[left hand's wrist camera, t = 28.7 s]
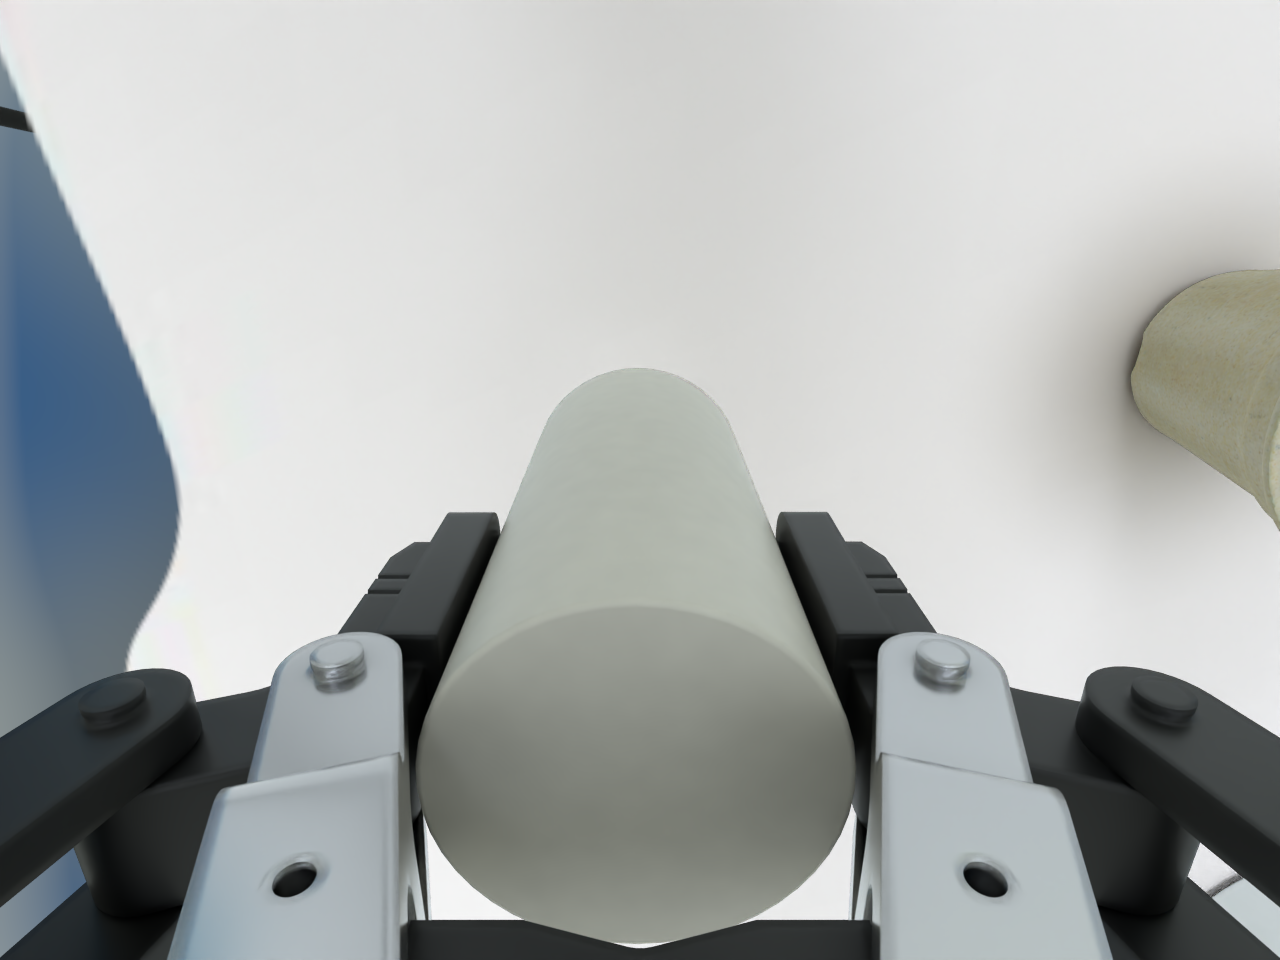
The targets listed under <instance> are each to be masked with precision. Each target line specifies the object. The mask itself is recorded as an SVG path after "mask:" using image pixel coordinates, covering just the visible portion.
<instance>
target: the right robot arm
mask: <svg viewBox="0 0 1280 960" xmlns="http://www.w3.org/2000/svg"><path fill="white" fill-rule="evenodd" d="M1212 899H1214V900H1215V901H1216V902H1217V903H1218V904H1219V905H1220V906H1222V907H1223V908H1224V909H1225V910H1226V911H1227V912H1228V913H1230V914H1231V915H1232V916H1233V917H1234V918H1235V919H1236V920H1237V921H1239V922H1240V923H1241V924H1242V925H1243V926H1244V927H1245V928H1247V929H1248V930H1249V931H1250V932H1251V933H1252V934H1253V935H1255V936H1256V937H1257V938H1258V939H1259V940H1260V941H1261V942H1263V943H1264V944H1265V945H1266V946H1267V947H1268V948H1269V949H1271V950H1272V951H1273V952H1274V953H1275V954H1276V955H1277V956H1278V957H1280V907H1279V906H1277V905H1276V904H1275V903H1274V902H1272V901H1271V900H1270V899H1269V898H1268V897H1266V896H1265V895H1264V894H1263V893H1262V892H1260V891H1259V890H1258V889H1257V888H1255V887H1254V886H1253V885H1252V884H1251V883H1249V882H1248V881H1247V880H1246V879H1244V878H1243V879H1241V880H1239V881H1237V882H1236V883H1234V884H1232V885H1230V886H1229V887H1227V888H1225V889H1224V890H1222V891H1221V892H1219V893H1218V894H1216V895H1215V896H1213V897H1212Z"/></svg>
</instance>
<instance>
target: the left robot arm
mask: <svg viewBox="0 0 1280 960" xmlns="http://www.w3.org/2000/svg"><path fill="white" fill-rule="evenodd" d="M0 126H4V127H9V128H13V129H18V130H23V131H27V132H33V133H35V132H34V129H33V126H32V124H31V122H30V120H29V118H28V116H27V113H25V112H21V111H17V110H13V109H9V108H5V107H1V106H0ZM499 536H500V526H499V520H498V516H497V514H496V513H494V512H466V513H448V514H447V515H446V517H445V519H444V520H443V522H442V524H441V525H440V527H439V529H438V530H437V532H436V533H435V535H434V537H433V538H432V540H431V542H414V543H412V544H411V545H409V546H408V547H406V548H405V549H403V550H401V551H400V552H398V553H397V554H395V555H394V556H392V557H391V558H390V559H389V560H388V562H387V563H386V565H385V566H384V568H383V569H382V571H381V572H380V573H379V575H378V579H375V581H374V582H373V584H372V585H371V586H370V588H369V589H368V594H365V595H364V597H363V598H362V600H361V601H360V602H359V604H358V605H357V607H356V608H355V610H354V611H353V613H352V614H351V615H350V617H349V618H348V620H347V621H346V623H345V624H344V626H343V627H342V628H341V630H340V631H339V633H338V634H337V635H332V636H328V637H325V638H322V639H319V640H316V641H314V642H311V643H309V644H307V645H305V646H303V647H301V648H299V649H298V650H296V651H294V652H293V653H292V654H290V655H289V656H288V657H286V658H285V659H284V660H283V661H282V662H281V663H280V665H279V666H278V667H277V669H276V670H275V673H274V675H273V679H272V683H271V686H269V687H266V688H263V689H259V690H255V691H251V692H246V693H241V694H236V695H231V696H226V697H221V698H216V699H211V700H205V701H200V702H196V699H195V696H194V692H193V688H192V685H191V682H190V680H189V679H188V677H187V676H186V675H184V674H182V673H180V672H178V671H174V670H170V669H141V670H135V671H129V672H125V673H121V674H117V675H114V676H111V677H107V678H104V679H102V680H99V681H97V682H94V683H91V684H89V685H87V686H85V687H83V688H81V689H79V690H77V691H75V692H73V693H72V694H70V695H68V696H66V697H65V698H63V699H62V700H60V701H58V702H57V703H55V704H54V705H52V706H50V707H49V708H47V709H46V710H44V711H42V712H41V713H39V714H38V715H36V716H34V717H33V718H31V719H29V720H28V721H26V722H25V723H23V724H21V725H20V726H18V727H17V728H15V729H13V730H12V731H10V732H9V733H7V734H6V735H4V736H2V737H1V738H0V907H1V906H3V905H4V904H5V903H6V902H7V901H9V900H10V899H11V898H12V897H14V896H15V895H16V894H17V893H18V892H20V891H21V890H22V889H23V888H25V887H26V886H27V885H28V884H29V883H31V882H32V881H33V880H34V879H36V878H37V877H38V876H39V875H40V874H42V873H43V872H44V871H45V870H46V869H48V868H49V867H50V866H51V865H53V864H54V863H55V862H56V861H57V860H59V859H60V858H61V857H62V856H63V855H65V854H66V853H67V852H68V851H70V850H71V849H72V848H73V847H74V850H75V853H76V855H77V858H78V861H79V863H80V866H81V869H82V871H83V874H84V876H85V879H86V883H85V884H83V885H82V886H81V887H80V888H79V889H78V890H77V891H76V892H74V893H73V894H72V895H71V896H70V897H69V898H68V899H66V900H65V901H64V902H63V903H62V904H61V905H60V906H58V907H57V908H56V909H55V910H54V911H53V912H52V913H50V914H49V915H48V916H47V917H46V918H45V919H44V920H42V921H41V922H40V923H39V924H38V925H37V926H36V927H35V928H33V929H32V930H31V931H30V932H29V933H28V934H27V935H25V936H24V937H23V938H22V939H21V940H20V941H19V942H17V943H16V944H15V945H14V946H13V947H12V948H11V949H9V950H8V951H7V952H6V953H5V954H4V955H3V956H2V957H0V960H1280V957H1278V956H1277V955H1276V954H1275V953H1274V952H1273V951H1272V950H1271V949H1269V948H1268V947H1267V946H1266V945H1265V944H1264V943H1263V942H1261V941H1260V940H1259V939H1258V938H1257V937H1256V936H1255V935H1253V934H1252V933H1251V932H1250V931H1249V930H1248V929H1247V928H1245V927H1244V926H1243V925H1242V924H1241V923H1240V922H1239V921H1237V920H1236V919H1235V918H1234V917H1233V916H1232V915H1231V914H1230V913H1228V912H1227V911H1226V910H1225V909H1224V908H1223V907H1222V906H1220V905H1219V904H1218V903H1217V902H1216V901H1215V900H1214V899H1212V898H1211V897H1210V896H1209V895H1208V894H1207V893H1206V892H1204V891H1203V890H1202V889H1201V888H1200V887H1199V886H1198V885H1197V884H1195V883H1194V882H1193V881H1192V880H1191V879H1190V878H1189V877H1187V876H1188V874H1189V871H1190V868H1191V866H1192V863H1193V860H1194V858H1195V855H1196V852H1197V849H1198V847H1199V844H1200V842H1201V843H1202V844H1203V845H1204V846H1205V847H1207V848H1208V849H1209V850H1210V851H1212V852H1213V853H1214V854H1215V855H1216V856H1218V857H1219V858H1220V859H1221V860H1223V861H1224V862H1225V863H1226V864H1227V865H1229V866H1230V867H1231V868H1232V869H1233V870H1235V871H1236V872H1237V873H1238V874H1240V875H1241V876H1242V877H1243V878H1244V879H1246V880H1247V881H1248V882H1249V883H1251V884H1252V885H1253V886H1254V887H1255V888H1257V889H1258V890H1259V891H1260V892H1262V893H1263V894H1264V895H1265V896H1266V897H1268V898H1269V899H1270V900H1271V901H1272V902H1274V903H1275V904H1276V905H1277V906H1279V907H1280V738H1279V737H1278V736H1276V735H1275V734H1273V733H1271V732H1270V731H1268V730H1266V729H1265V728H1263V727H1262V726H1260V725H1258V724H1257V723H1255V722H1254V721H1252V720H1250V719H1249V718H1247V717H1246V716H1244V715H1242V714H1241V713H1239V712H1238V711H1236V710H1234V709H1233V708H1231V707H1230V706H1228V705H1226V704H1225V703H1223V702H1222V701H1220V700H1218V699H1217V698H1215V697H1214V696H1212V695H1210V694H1209V693H1207V692H1205V691H1203V690H1202V689H1200V688H1198V687H1196V686H1194V685H1192V684H1190V683H1188V682H1185V681H1183V680H1180V679H1178V678H1175V677H1173V676H1169V675H1166V674H1163V673H1160V672H1156V671H1152V670H1147V669H1142V668H1135V667H1108V668H1103V669H1100V670H1097V671H1095V672H1093V673H1091V675H1090V676H1089V677H1088V678H1087V680H1086V683H1085V687H1084V690H1083V694H1082V698H1081V702H1079V701H1074V700H1069V699H1063V698H1058V697H1053V696H1048V695H1043V694H1038V693H1033V692H1028V691H1023V690H1019V689H1015V688H1011V687H1009V683H1008V679H1007V675H1006V673H1005V670H1004V669H1003V667H1002V666H1001V665H1000V663H999V662H998V661H997V660H996V659H995V658H994V657H992V656H991V655H990V654H988V653H987V652H986V651H984V650H982V649H981V648H979V647H977V646H975V645H973V644H971V643H969V642H966V641H964V640H961V639H958V638H955V637H952V636H948V635H943V634H938V633H937V632H936V631H935V630H934V628H933V627H932V625H931V624H930V622H929V621H928V619H927V618H926V616H925V615H924V613H923V612H922V610H921V609H920V607H919V606H918V605H917V603H916V602H915V600H914V599H913V597H912V596H911V594H910V593H907V588H906V587H905V585H904V584H903V582H902V581H901V580H900V578H897V574H896V572H895V571H894V569H893V568H892V566H891V565H890V563H889V562H888V560H887V559H886V557H884V556H883V555H881V554H880V553H878V552H877V551H875V550H874V549H872V548H871V547H869V546H867V545H866V544H864V543H863V542H845V540H844V539H843V537H842V535H841V534H840V532H839V530H838V528H837V527H836V525H835V523H834V522H833V520H832V518H831V517H830V515H829V514H828V513H827V512H781V513H780V514H779V516H778V520H777V527H776V541H777V544H778V546H779V549H780V551H781V554H782V556H783V559H784V561H785V564H786V566H787V569H788V571H789V574H790V576H791V579H792V582H793V584H794V587H795V589H796V592H797V594H798V597H799V599H800V602H801V604H802V607H803V609H804V612H805V614H806V617H807V619H808V622H809V624H810V627H811V629H812V632H813V634H814V637H815V639H816V642H817V644H818V647H819V649H820V652H821V654H822V657H823V660H824V662H825V665H826V667H827V670H828V672H829V675H830V677H831V680H832V682H833V685H834V687H835V690H836V692H837V695H838V697H839V700H840V702H841V705H842V707H843V710H844V712H845V715H846V717H847V720H848V723H849V727H850V731H851V734H852V738H853V741H854V748H855V758H856V778H855V790H854V795H853V799H852V805H853V808H854V810H855V813H856V816H855V823H854V830H853V845H852V863H851V882H850V900H849V918H848V920H755V921H751V922H747V923H743V924H739V925H735V926H732V927H728V928H724V929H720V930H716V931H712V932H708V933H704V934H701V935H697V936H693V937H689V938H685V939H681V940H677V941H674V942H670V943H666V944H662V945H658V946H654V947H649V948H631V947H626V946H622V945H618V944H614V943H610V942H606V941H603V940H599V939H595V938H591V937H587V936H583V935H579V934H576V933H572V932H568V931H564V930H560V929H556V928H552V927H548V926H545V925H541V924H537V923H533V922H529V921H525V920H432V918H431V900H430V882H429V863H428V845H427V830H426V823H425V818H424V815H423V813H422V809H421V804H420V800H419V795H418V791H417V783H416V755H417V747H418V740H419V736H420V733H421V729H422V726H423V723H424V719H425V716H426V714H427V712H428V709H429V707H430V704H431V702H432V699H433V697H434V694H435V692H436V690H437V687H438V685H439V682H440V680H441V677H442V675H443V673H444V670H445V668H446V665H447V663H448V660H449V658H450V656H451V653H452V651H453V648H454V646H455V643H456V641H457V639H458V636H459V634H460V631H461V629H462V626H463V624H464V622H465V619H466V617H467V614H468V612H469V609H470V607H471V604H472V602H473V600H474V597H475V595H476V592H477V590H478V587H479V585H480V583H481V580H482V578H483V575H484V573H485V570H486V568H487V566H488V563H489V561H490V558H491V556H492V553H493V551H494V549H495V546H496V544H497V541H498V539H499Z"/></svg>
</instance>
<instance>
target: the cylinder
mask: <svg viewBox="0 0 1280 960" xmlns="http://www.w3.org/2000/svg"><path fill="white" fill-rule="evenodd" d="M855 778H856V758H855V748H854V741H853V738H852V734H851V731H850V727H849V723H848V720H847V717H846V715H845V712H844V710H843V707H842V705H841V702H840V700H839V697H838V695H837V692H836V690H835V687H834V685H833V682H832V680H831V677H830V675H829V672H828V670H827V667H826V665H825V662H824V660H823V657H822V654H821V652H820V649H819V647H818V644H817V642H816V639H815V637H814V634H813V632H812V629H811V627H810V624H809V622H808V619H807V617H806V614H805V612H804V609H803V607H802V604H801V602H800V599H799V597H798V594H797V592H796V589H795V587H794V584H793V582H792V579H791V576H790V574H789V571H788V569H787V566H786V564H785V561H784V559H783V556H782V554H781V551H780V549H779V546H778V544H777V541H776V539H775V536H774V534H773V531H772V529H771V526H770V524H769V521H768V519H767V516H766V514H765V511H764V509H763V506H762V504H761V501H760V498H759V496H758V493H757V491H756V488H755V486H754V483H753V481H752V478H751V476H750V473H749V471H748V468H747V466H746V463H745V461H744V458H743V456H742V453H741V451H740V448H739V446H738V443H737V441H736V438H735V436H734V433H733V431H732V428H731V426H730V424H729V422H728V420H727V418H726V417H725V415H724V413H723V412H722V410H721V409H720V408H719V406H718V405H717V404H716V403H715V402H714V401H713V399H712V398H710V397H709V396H708V395H707V394H706V393H705V392H704V391H703V390H701V389H700V388H698V387H697V386H695V385H694V384H692V383H691V382H689V381H687V380H685V379H683V378H681V377H679V376H676V375H673V374H670V373H667V372H664V371H659V370H654V369H643V368H633V369H622V370H617V371H611V372H608V373H605V374H602V375H599V376H597V377H595V378H592V379H590V380H588V381H586V382H585V383H583V384H582V385H580V386H578V387H577V388H575V389H574V390H573V391H572V392H571V393H569V394H568V395H567V396H566V397H565V398H564V399H563V400H562V401H561V402H560V403H559V405H558V406H557V407H556V408H555V410H554V411H553V413H552V414H551V416H550V417H549V419H548V421H547V423H546V425H545V427H544V429H543V432H542V434H541V437H540V439H539V441H538V444H537V446H536V449H535V451H534V454H533V456H532V458H531V461H530V463H529V466H528V468H527V471H526V473H525V476H524V478H523V480H522V483H521V485H520V488H519V490H518V493H517V495H516V497H515V500H514V502H513V505H512V507H511V510H510V512H509V514H508V517H507V519H506V522H505V524H504V527H503V529H502V531H501V534H500V536H499V539H498V541H497V544H496V546H495V549H494V551H493V553H492V556H491V558H490V561H489V563H488V566H487V568H486V570H485V573H484V575H483V578H482V580H481V583H480V585H479V587H478V590H477V592H476V595H475V597H474V600H473V602H472V604H471V607H470V609H469V612H468V614H467V617H466V619H465V622H464V624H463V626H462V629H461V631H460V634H459V636H458V639H457V641H456V643H455V646H454V648H453V651H452V653H451V656H450V658H449V660H448V663H447V665H446V668H445V670H444V673H443V675H442V677H441V680H440V682H439V685H438V687H437V690H436V692H435V694H434V697H433V699H432V702H431V704H430V707H429V709H428V712H427V714H426V716H425V719H424V723H423V726H422V729H421V733H420V736H419V740H418V747H417V755H416V783H417V791H418V795H419V800H420V804H421V809H422V813H423V815H424V818H425V820H426V823H427V825H428V828H429V831H430V833H431V835H432V836H433V838H434V840H435V842H436V843H437V845H438V847H439V849H440V850H441V852H442V853H443V855H444V856H445V857H446V859H447V860H448V861H449V862H450V864H451V865H452V866H453V867H454V869H455V870H456V871H457V872H458V873H459V874H460V875H461V876H462V877H463V878H464V879H465V880H466V881H467V882H468V883H469V884H470V885H471V886H472V887H473V888H475V889H476V890H477V891H479V892H480V893H481V894H482V895H484V896H485V897H486V898H488V899H489V900H490V901H492V902H493V903H495V904H497V905H498V906H500V907H502V908H503V909H505V910H507V911H508V912H510V913H512V914H513V915H515V916H518V917H520V918H522V919H524V920H526V921H529V922H533V923H537V924H541V925H545V926H548V927H552V928H556V929H560V930H564V931H568V932H572V933H576V934H579V935H583V936H587V937H591V938H595V939H599V940H603V941H606V942H610V943H629V944H642V943H662V942H670V941H677V940H681V939H685V938H689V937H693V936H697V935H701V934H704V933H708V932H712V931H716V930H720V929H724V928H728V927H732V926H735V925H737V924H739V923H741V922H744V921H746V920H748V919H750V918H753V917H755V916H757V915H759V914H760V913H762V912H764V911H766V910H767V909H769V908H771V907H772V906H774V905H776V904H777V903H779V902H780V901H782V900H783V899H784V898H786V897H787V896H788V895H790V894H791V893H792V892H794V891H795V890H796V889H798V888H799V887H800V886H801V885H802V884H803V883H804V882H805V881H806V880H807V879H808V878H809V877H810V876H811V875H812V874H813V873H814V872H815V871H816V870H817V869H818V867H819V866H820V865H821V864H822V862H823V861H824V860H825V859H826V857H827V856H828V855H829V853H830V852H831V850H832V848H833V847H834V845H835V843H836V842H837V840H838V838H839V837H840V835H841V832H842V830H843V828H844V825H845V823H846V820H847V818H848V815H849V812H850V808H851V803H852V799H853V795H854V790H855Z"/></svg>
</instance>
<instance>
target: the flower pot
mask: <svg viewBox="0 0 1280 960" xmlns="http://www.w3.org/2000/svg"><path fill="white" fill-rule="evenodd" d="M1131 387H1132V392H1133V396H1134V400H1135V402H1136V405H1137V407H1138V409H1139V411H1140V412H1141V414H1142V415H1143V417H1144V418H1145V419H1146V420H1147V422H1148V423H1149V424H1151V425H1152V426H1153V427H1154V428H1155V429H1157V430H1158V431H1159V432H1161V433H1162V434H1164V435H1166V436H1168V437H1169V438H1171V439H1172V440H1174V441H1175V442H1177V443H1178V444H1180V445H1181V446H1183V447H1184V448H1185V449H1187V450H1188V451H1190V452H1191V453H1193V454H1194V455H1196V456H1197V457H1199V458H1200V459H1201V460H1203V461H1204V462H1206V463H1207V464H1209V465H1210V466H1211V467H1213V468H1214V469H1216V470H1217V471H1219V472H1220V473H1221V474H1223V475H1224V476H1226V477H1227V478H1229V479H1230V480H1231V481H1233V482H1234V483H1236V484H1237V485H1239V486H1240V487H1241V488H1243V489H1244V490H1246V491H1247V492H1249V493H1250V494H1251V495H1253V496H1254V497H1255V499H1256V500H1257V501H1258V503H1259V504H1260V506H1261V507H1262V508H1263V510H1264V511H1265V512H1266V513H1267V514H1268V515H1269V516H1270V517H1271V518H1272V519H1273V520H1274V522H1275V524H1276V526H1277V528H1278V529H1279V531H1280V269H1279V270H1244V271H1234V272H1228V273H1223V274H1219V275H1216V276H1213V277H1210V278H1207V279H1205V280H1202V281H1200V282H1198V283H1196V284H1194V285H1192V286H1190V287H1189V288H1187V289H1185V290H1184V291H1182V292H1181V293H1180V294H1178V295H1177V296H1176V297H1174V298H1173V299H1172V300H1171V301H1170V302H1169V303H1167V304H1166V305H1165V306H1164V307H1163V308H1162V309H1161V310H1160V311H1159V313H1158V314H1157V315H1156V316H1155V317H1154V318H1153V320H1152V321H1151V322H1150V324H1149V325H1148V327H1147V328H1146V330H1145V331H1144V334H1143V340H1142V345H1141V348H1140V352H1139V355H1138V358H1137V361H1136V364H1135V366H1134V369H1133V371H1132V373H1131Z"/></svg>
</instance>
